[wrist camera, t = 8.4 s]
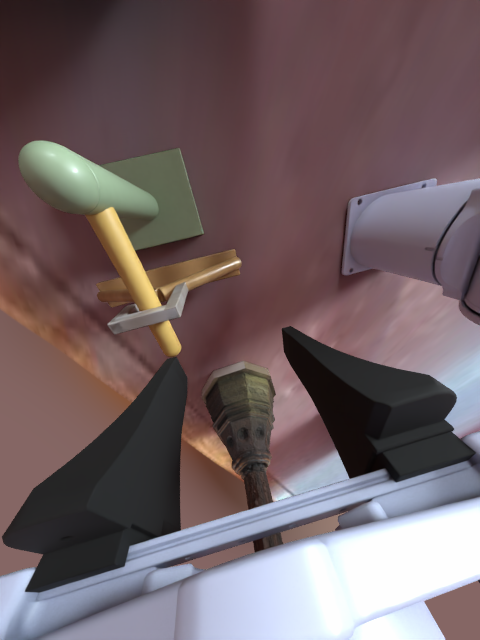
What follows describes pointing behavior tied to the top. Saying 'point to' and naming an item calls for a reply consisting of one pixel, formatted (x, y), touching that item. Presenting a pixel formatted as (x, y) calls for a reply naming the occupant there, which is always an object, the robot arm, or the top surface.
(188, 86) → the top surface
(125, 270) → the stand
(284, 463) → the top surface
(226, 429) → the bird statue
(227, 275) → the hanger
